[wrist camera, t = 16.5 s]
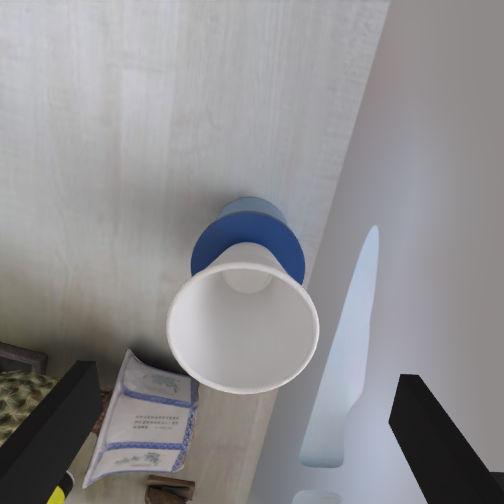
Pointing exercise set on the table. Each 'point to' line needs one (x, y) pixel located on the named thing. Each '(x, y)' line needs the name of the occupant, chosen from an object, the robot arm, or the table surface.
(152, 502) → the figurine
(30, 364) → the picture frame
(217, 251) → the blue lidded canister
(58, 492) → the flashlight
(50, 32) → the table surface
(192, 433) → the potted plant
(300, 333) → the cup
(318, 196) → the table surface
